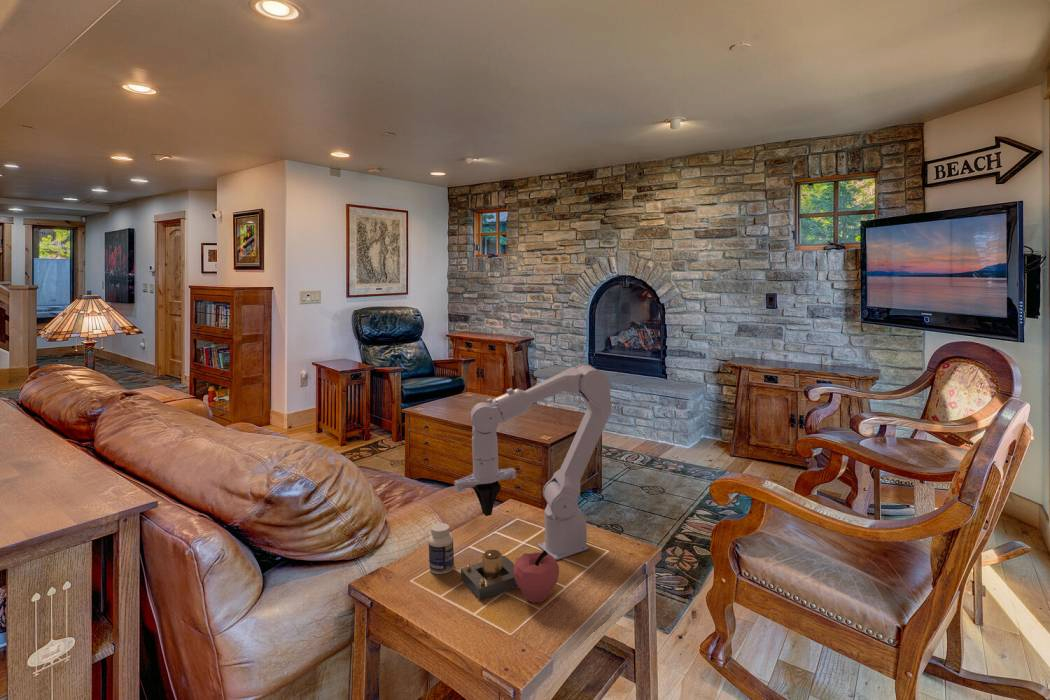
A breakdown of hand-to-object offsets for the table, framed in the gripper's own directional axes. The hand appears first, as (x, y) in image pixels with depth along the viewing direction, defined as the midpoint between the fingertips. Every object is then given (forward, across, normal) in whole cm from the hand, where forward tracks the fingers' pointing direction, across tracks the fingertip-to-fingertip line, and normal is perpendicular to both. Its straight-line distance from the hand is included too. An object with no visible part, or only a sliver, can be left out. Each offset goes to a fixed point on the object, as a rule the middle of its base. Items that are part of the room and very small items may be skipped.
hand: (487, 513), depth 126 cm
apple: (+11, -1, +20) cm, 23 cm away
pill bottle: (+11, +11, -1) cm, 15 cm away
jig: (+10, +4, +10) cm, 15 cm away
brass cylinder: (+10, +4, +10) cm, 15 cm away
